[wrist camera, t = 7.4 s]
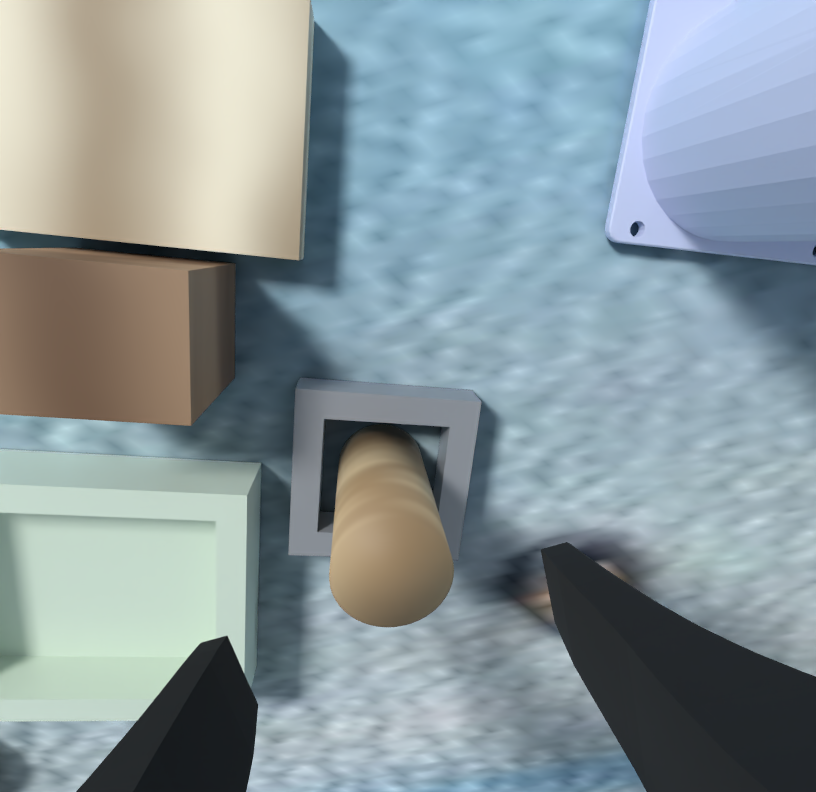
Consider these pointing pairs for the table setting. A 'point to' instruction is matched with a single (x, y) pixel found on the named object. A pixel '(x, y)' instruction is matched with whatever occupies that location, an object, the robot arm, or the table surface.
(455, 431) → the dowel socket
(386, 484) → the dowel
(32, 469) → the tray
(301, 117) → the cream flat block
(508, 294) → the table surface
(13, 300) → the brown block
